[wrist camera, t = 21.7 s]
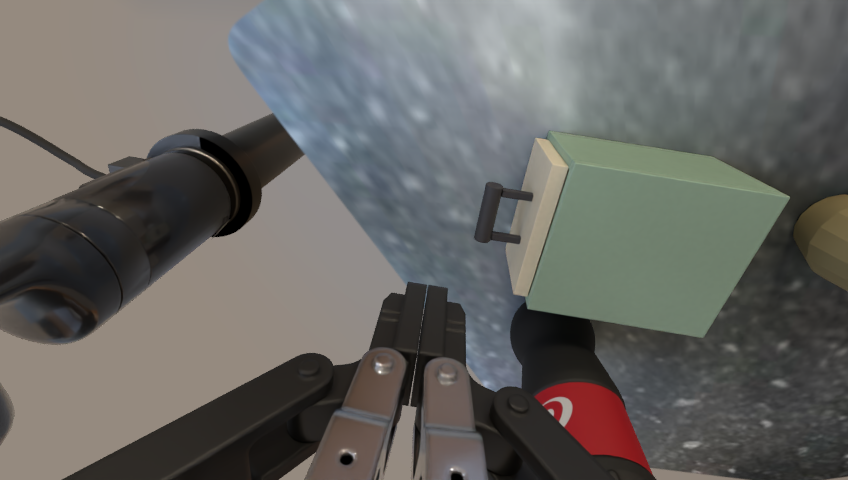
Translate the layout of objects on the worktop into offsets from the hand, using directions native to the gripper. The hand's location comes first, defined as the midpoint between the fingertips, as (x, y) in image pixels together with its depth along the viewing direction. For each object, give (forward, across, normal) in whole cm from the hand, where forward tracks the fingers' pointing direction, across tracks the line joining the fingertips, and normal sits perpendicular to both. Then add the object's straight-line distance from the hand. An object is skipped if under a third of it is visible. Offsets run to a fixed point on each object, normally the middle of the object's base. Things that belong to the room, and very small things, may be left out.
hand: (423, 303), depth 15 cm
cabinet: (+25, -16, +4) cm, 30 cm away
